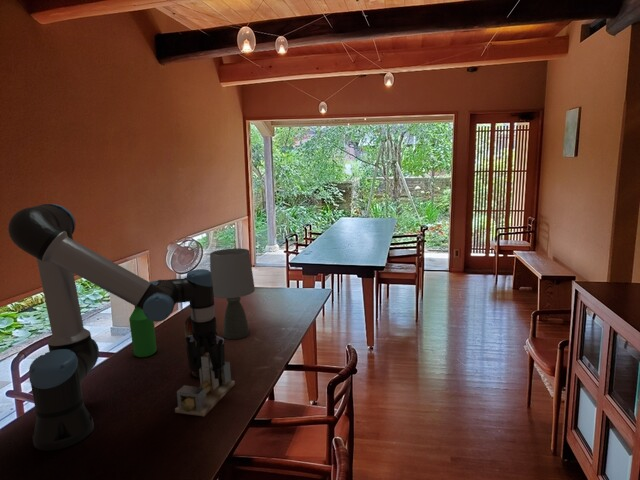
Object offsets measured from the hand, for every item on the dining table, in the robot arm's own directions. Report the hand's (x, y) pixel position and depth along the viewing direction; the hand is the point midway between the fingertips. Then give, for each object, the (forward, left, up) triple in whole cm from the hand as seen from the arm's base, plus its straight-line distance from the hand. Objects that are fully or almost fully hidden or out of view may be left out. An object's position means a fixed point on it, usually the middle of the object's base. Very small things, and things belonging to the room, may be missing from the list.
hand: (209, 386), depth 148 cm
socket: (+6, 0, -1) cm, 6 cm away
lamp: (+49, +15, -3) cm, 51 cm away
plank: (-2, 0, -3) cm, 4 cm away
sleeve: (-10, 0, -1) cm, 11 cm away
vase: (+14, +10, -3) cm, 17 cm away
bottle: (+24, +43, -3) cm, 49 cm away
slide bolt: (-4, 0, -1) cm, 5 cm away
